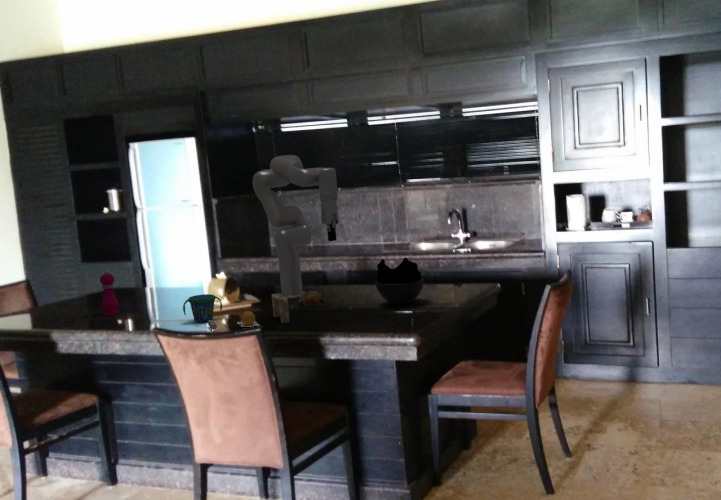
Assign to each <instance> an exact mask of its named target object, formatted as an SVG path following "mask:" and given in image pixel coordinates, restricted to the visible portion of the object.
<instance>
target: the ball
mask: <svg viewBox="0 0 721 500" xmlns="http://www.w3.org/2000/svg"><path fill="white" fill-rule="evenodd" d="M241 321H242V323H243V324H244V325H251V324H253V323H254V321H256V314H254V312H252V311H248V310H247V311H244V312H243V313H242V314H241V316H240V322H241Z"/></svg>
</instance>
